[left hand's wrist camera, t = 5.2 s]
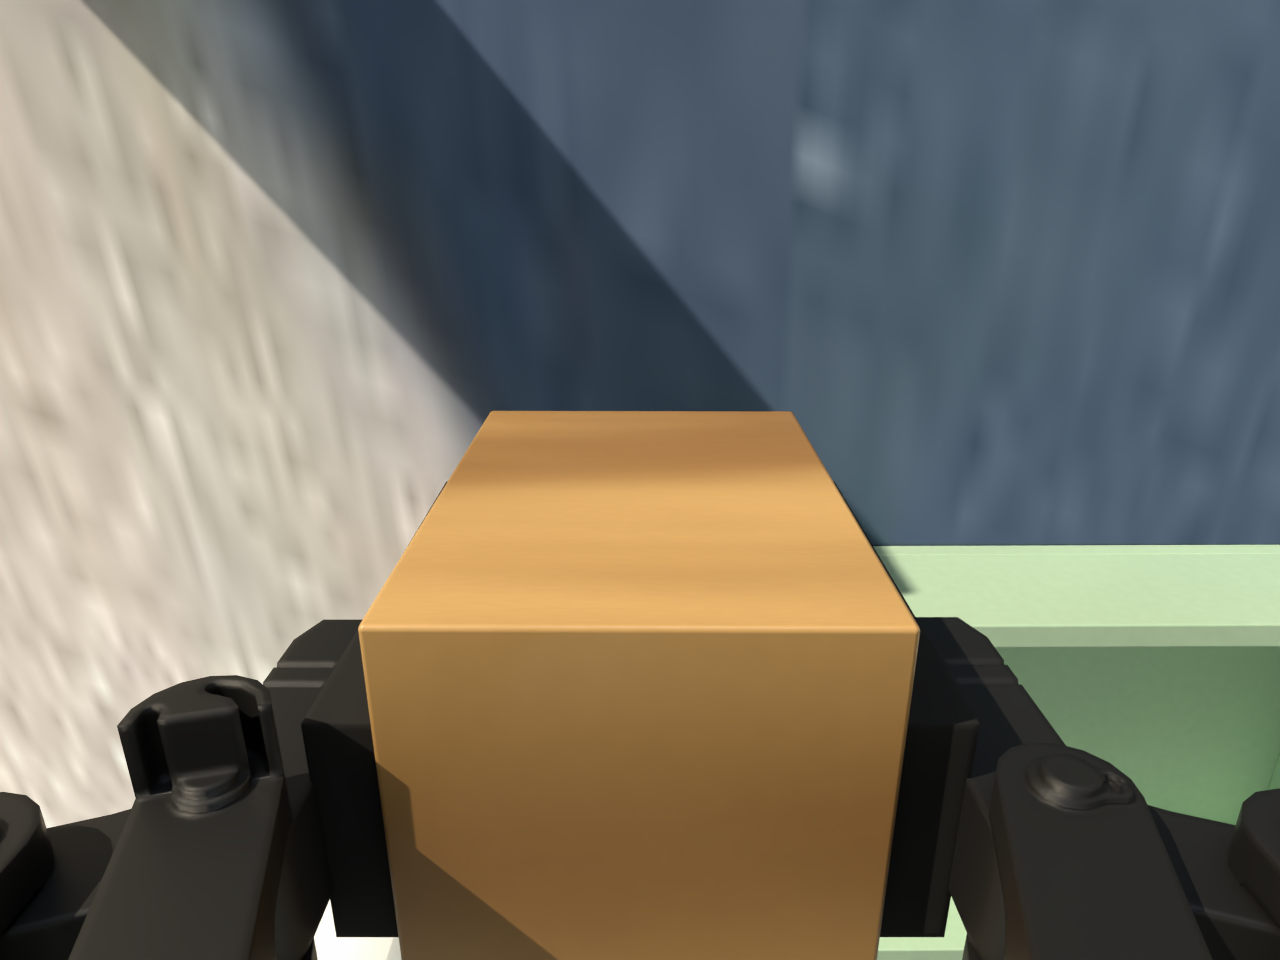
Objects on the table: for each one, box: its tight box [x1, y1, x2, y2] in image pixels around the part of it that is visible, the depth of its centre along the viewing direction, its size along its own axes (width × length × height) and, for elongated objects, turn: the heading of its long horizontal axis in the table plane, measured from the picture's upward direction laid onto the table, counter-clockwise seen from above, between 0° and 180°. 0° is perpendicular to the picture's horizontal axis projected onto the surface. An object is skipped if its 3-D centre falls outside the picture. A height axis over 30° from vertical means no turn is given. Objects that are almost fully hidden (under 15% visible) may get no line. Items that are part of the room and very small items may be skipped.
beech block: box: [358, 411, 920, 960], centre depth 12 cm, size 5×5×7 cm
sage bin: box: [873, 545, 1280, 960], centre depth 28 cm, size 14×23×11 cm, turn 90°
